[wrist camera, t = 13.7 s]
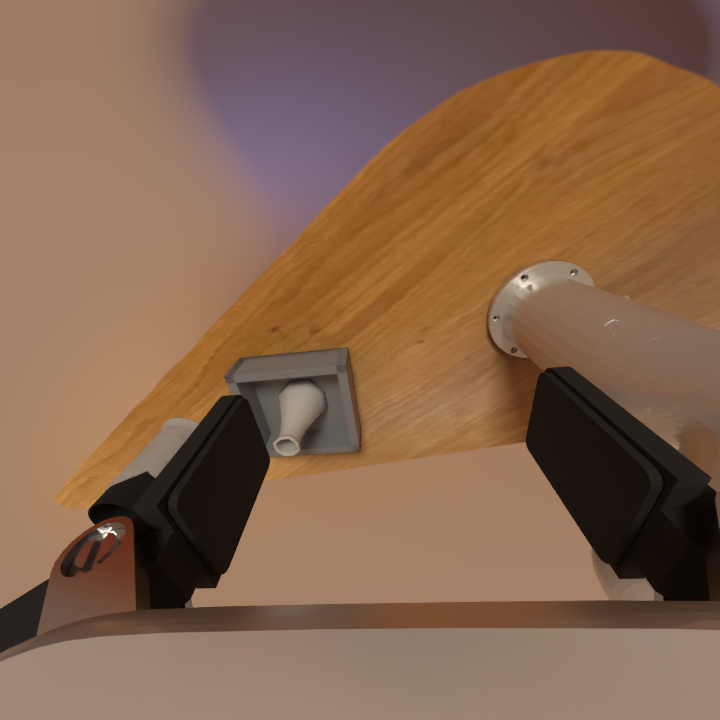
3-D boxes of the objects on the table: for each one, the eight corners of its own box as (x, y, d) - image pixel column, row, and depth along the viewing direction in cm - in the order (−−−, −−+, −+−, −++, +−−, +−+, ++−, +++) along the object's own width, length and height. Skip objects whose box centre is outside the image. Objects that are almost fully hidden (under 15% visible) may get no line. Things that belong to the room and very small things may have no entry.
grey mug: (180, 409, 46) (103, 489, 33) (246, 459, 51) (203, 546, 38) (151, 433, 49) (70, 516, 36) (217, 478, 54) (166, 566, 41)
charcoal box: (348, 347, 40) (345, 364, 35) (361, 428, 47) (360, 451, 42) (239, 358, 41) (224, 376, 37) (268, 435, 48) (257, 458, 44)
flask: (297, 423, 45) (279, 474, 36) (270, 389, 42) (244, 436, 33) (336, 407, 43) (327, 457, 35) (311, 371, 40) (294, 416, 32)
